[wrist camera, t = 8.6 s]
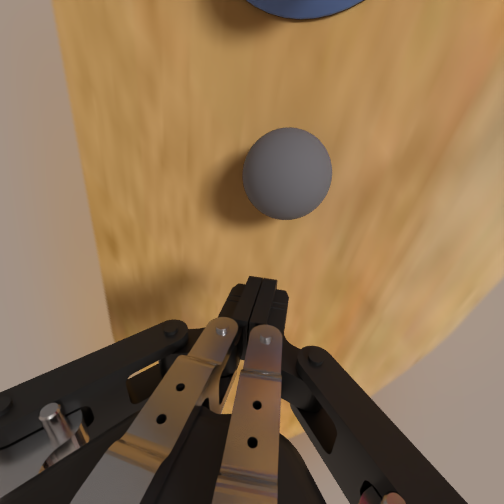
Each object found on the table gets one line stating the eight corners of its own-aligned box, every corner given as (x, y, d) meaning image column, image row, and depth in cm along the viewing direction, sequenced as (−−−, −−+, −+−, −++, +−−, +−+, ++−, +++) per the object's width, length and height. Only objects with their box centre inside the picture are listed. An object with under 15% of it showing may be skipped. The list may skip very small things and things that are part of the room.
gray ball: (225, 221, 17) (245, 180, 21) (309, 248, 17) (313, 201, 21) (243, 133, 13) (263, 103, 17) (352, 169, 13) (346, 130, 17)
